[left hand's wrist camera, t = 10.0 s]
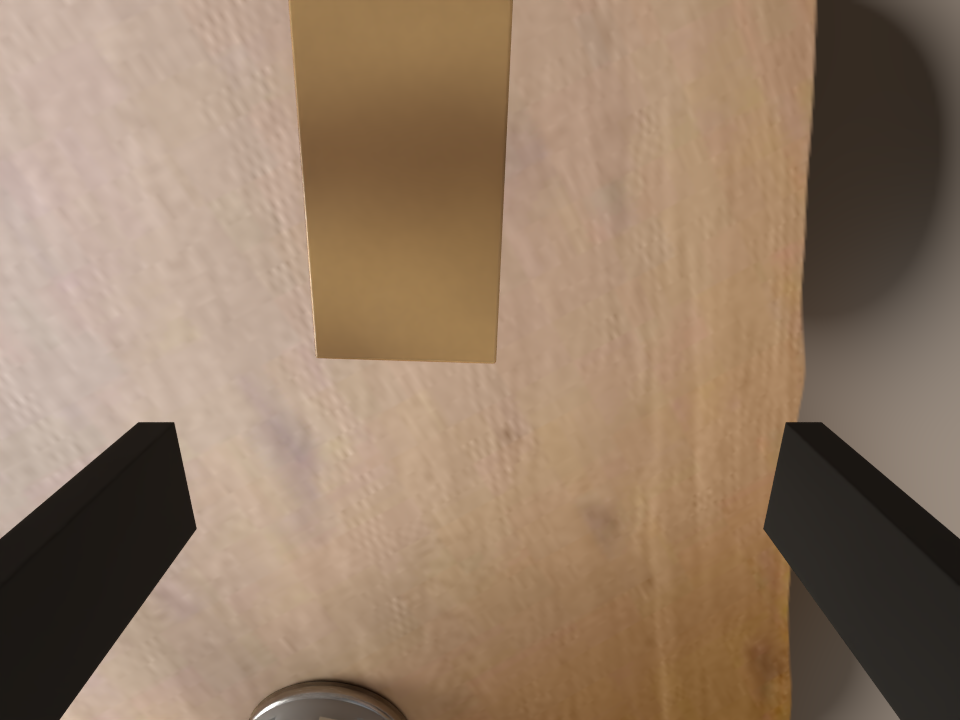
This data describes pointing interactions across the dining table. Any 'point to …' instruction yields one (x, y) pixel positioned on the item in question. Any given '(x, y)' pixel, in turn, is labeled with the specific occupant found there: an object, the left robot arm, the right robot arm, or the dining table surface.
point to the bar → (403, 173)
